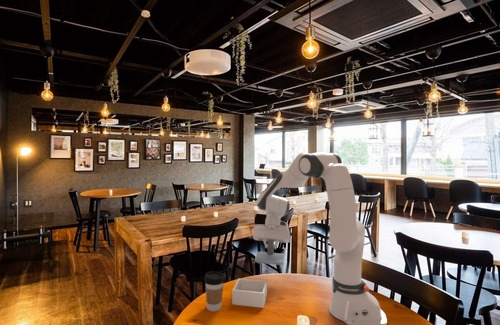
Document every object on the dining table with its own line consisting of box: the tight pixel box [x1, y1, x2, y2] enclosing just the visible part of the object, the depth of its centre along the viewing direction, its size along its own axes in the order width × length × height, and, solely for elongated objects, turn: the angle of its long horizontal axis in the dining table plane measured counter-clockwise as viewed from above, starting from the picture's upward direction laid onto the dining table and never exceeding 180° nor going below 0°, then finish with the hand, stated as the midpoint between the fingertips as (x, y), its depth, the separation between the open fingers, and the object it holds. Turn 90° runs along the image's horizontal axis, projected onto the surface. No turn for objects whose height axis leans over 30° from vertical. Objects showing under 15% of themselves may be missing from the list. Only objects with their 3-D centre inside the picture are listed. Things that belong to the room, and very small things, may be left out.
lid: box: [253, 240, 285, 266], centre depth 139 cm, size 14×12×9 cm
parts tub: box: [231, 277, 268, 309], centre depth 123 cm, size 14×12×7 cm
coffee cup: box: [204, 271, 225, 312], centre depth 115 cm, size 8×8×15 cm
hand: (270, 248), depth 142 cm, fingers closed on lid, 3 cm apart
